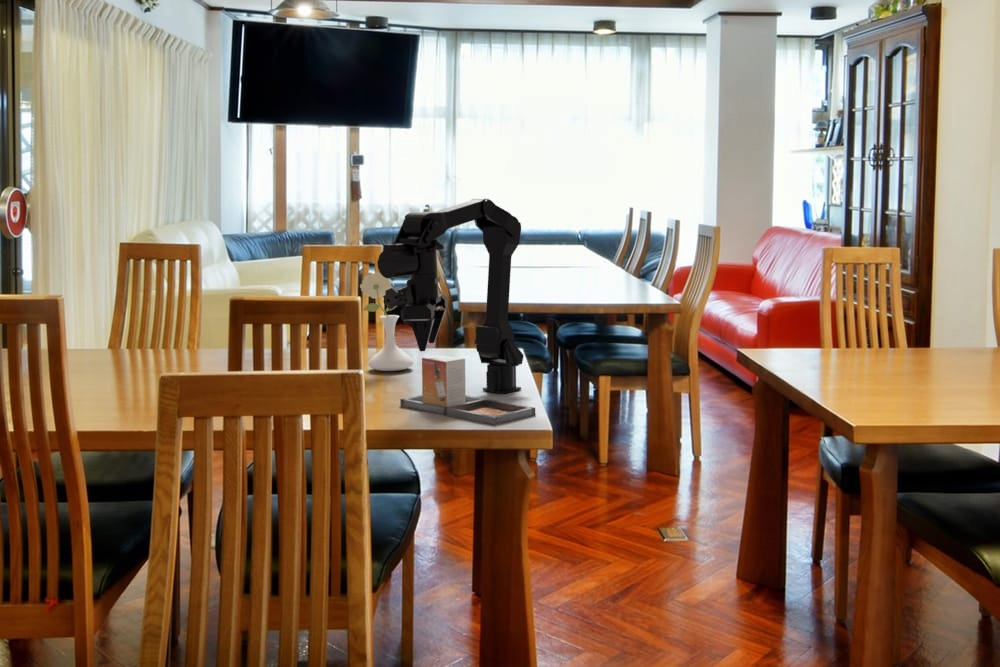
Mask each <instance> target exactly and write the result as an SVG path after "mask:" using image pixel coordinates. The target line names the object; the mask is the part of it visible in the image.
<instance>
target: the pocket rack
mask: <svg viewBox="0 0 1000 667" xmlns="http://www.w3.org/2000/svg"><path fill="white" fill-rule="evenodd" d="M465 398H466V403H463V404H458V405H454V406H449V407H445V406H440V405H435V404H429V403H424V402H422V394H419V395H415V396H409V397H405V398H401V399H399V400H400V407H403V408H408V409H414V410H418V411H423V412H427V413H432V414H438V415H443V416H446V417H452V418H457V419H462V420H466V421H472V422H477V423H480V424H481V423H482V424H487V425H490V426H497V425H501V424H504V423H509V422H513V421H516V420H521V419H524V418H525V419H526V418H527V417H528V418H529V417H532V416H536V407H535V406H534V407H533V406H528V405H524V404H523V405H522V404H517V403H512V402H507V401H501V400H495V399H488V398H484V397H480V396H474V395H472V396H471V395H467V394H465Z"/></svg>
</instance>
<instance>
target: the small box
mask: <svg viewBox="0 0 1000 667" xmlns="http://www.w3.org/2000/svg"><path fill="white" fill-rule="evenodd" d="M421 382H422V383H421V384H422V385H421V388H422V389H421V390H422V391H421V392H422V394H421V395H422V402H424V403H429V404H435V405H440V406H445V407H449V406H454V405H458V404H463V403H466V398H465V395H466V358H464V357H463V358H462V357H461V358H460V357H453V356H449V355H447V356H446V355H443V354H437V355H430V356H423V357H421Z"/></svg>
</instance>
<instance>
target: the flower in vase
mask: <svg viewBox="0 0 1000 667" xmlns="http://www.w3.org/2000/svg"><path fill="white" fill-rule="evenodd" d="M390 279H391V278H385V277H383V276H382V275H381V274H380V273H379V272H378V271H377V272H375V273H372V272H371V273H369V275H365V277H363V280H362V281H361V284H359V288H360V289H361V290H360V291H361V292H362V295H364V296H366V297H367V298H369V297H370V298H371V299H377V303H374V302H372V303H371V302H370V303H368V304H367V305H366V306H364V308H363V309H362V311H367V312H370V313H371V312H372V313H374V312H376V311H378V310H379V309H381V310H382V311H383V313H384V314H385V315H380V316H379V318H380V320H381V321H382V323H383V326H384V331H385V343H384V346H383V347H382V348H381V349H380V350H379V351H378V352H377V353H376V354H374V355H373V356H372V357H371V359H370V360H369V362H368V366H369V367H370V368H371V369H373V370H376V371H380V372H381V371H382V372H395V371H396V372H397V371H402V370H407V369H409V368H410V367H412V366H413V365H414V361H413V358H412V357H410V356H409V355H408V354H407V353H406V352H405V351H403V350H402V349H401V348H399V346H398V345H397V344H396V340H395V339H396V338H395V332H396V330H395V329H396V323H397V321H398V319H399V318H400V315H397V314H387V312H389V311H392V310H395V308H398V306H395V307H394V308H392V309H390V310H389V309H388V307H387V308H386V309H384V308H383V307H382V305H381V303H380V298H383V296H384V295H385V291H386V290H388V289H391V288H393V285H392V281H391V280H390Z"/></svg>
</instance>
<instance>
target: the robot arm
mask: <svg viewBox="0 0 1000 667" xmlns="http://www.w3.org/2000/svg"><path fill="white" fill-rule="evenodd" d="M472 221H474V224H475V226H476V228H477V229H479V230H480V232H482V242H483V244H484V247H485V248H486V249H485V250H486V251H487V253H488V274H487V291H486V292H487V293H486V308H485V309H486V310H485V312H486V313H485V319H484V321H483V323H482V324H481V325H477V326H476V327H475V340H474V345H475V346H476V348H475V349H476V352H478V356H479V360H480V363H481V364H486V365H487V366H486V369H487V370H486V387H482V391H483V392H484V391H486V392H491V393H496V394H508V393H511V392H515V391H520V390H522V387H521V386H517V367H519V365H522V364H523V361H524V353H523V352H521V350H520V349H519V347H518V346H517V345H516V344H515V333H514V332H515V331H514V330H513V328H512V326H511V323H510V320H509V308H510V306H509V305H510V304H509V303H510V290H511V289H510V286H511V271H512V256H513V254H514V253H515V251H516V249H517V248H518V246H519V244H520V239H521V233H522V224H521V222H520V221H519V219H518V218H517V217H516V216H514V215H512V214H511V213H510V212H509V211H507V210H505V209H504V208H502V207H500V206H498V205H496V204H495V203H494V202H493V200H491V199H489V198H472V199H470V200H469V201H465V202H462V203H458V204H455V205H452V206H449V207H446V208H442V209H439V210H436V211H419V212H417V211H415V212H409V213H407V214H406V215H405V216H404V218H403V222H402V224H401V226H400V228H399V230H398V233H397V235H396V237H395V240H394V242H393V244H390V243H385V244H384V245H383V250H382V251H381V252H380V254H379V256H378V260H377V261H376V264H377V268H378V271H379V272H378V273H379V274H381V275H382V276H383V277H385V278H389V279H394V278H400V277H406V276H407V277H409V278H408V279H407V280H406V286H403V287H401V288H396V287H394V286H392V288H390V289H388V290H386V291H385V295H384V296H383V297H382V298H383V304H385V305H386V306H387V307H388V309H389V310H390V309H392V308H394V307H395V306H397V307H398V306H400V305H402V304H404V303H406V304H405V305H404V306H403V307H402V309H401V310H400V318H401V319H400V320H402V321H403V323H404V324H407V325H408V326H410V328H412V331H413V334H414V337H415V341H416V344H417V347H418V350H419V351H420V352H425V351H426V350H427V346H428V343H429V344H435V342H436V339H437V337H438V335H439V334H438V333H439V331H440V328H441V325H442V323H443V320H444V317H445V314H446V312H447V310H448V309H447V307H449V299H448V298H449V297H448V296H446V295H445V294H444V293H439V282H440V281H441V280H440V279H441V278H440V276H439V275H438V259H437V258H438V257H437V256H438V254H437V251H442V250H444V249H445V246H444V245H443V244H442V243H440V242H439V241H438V240H437V239H438V238H440V237H442V236H444V235H445V234H446V232H447V230H449V229H452V228H454V227H457V226H460V225H462V224H466V223H469V222H472ZM441 307H442V308H441ZM394 309H395V308H394ZM390 311H391V310H390Z"/></svg>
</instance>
